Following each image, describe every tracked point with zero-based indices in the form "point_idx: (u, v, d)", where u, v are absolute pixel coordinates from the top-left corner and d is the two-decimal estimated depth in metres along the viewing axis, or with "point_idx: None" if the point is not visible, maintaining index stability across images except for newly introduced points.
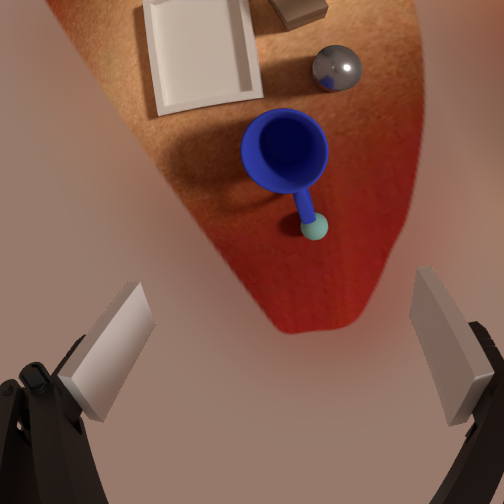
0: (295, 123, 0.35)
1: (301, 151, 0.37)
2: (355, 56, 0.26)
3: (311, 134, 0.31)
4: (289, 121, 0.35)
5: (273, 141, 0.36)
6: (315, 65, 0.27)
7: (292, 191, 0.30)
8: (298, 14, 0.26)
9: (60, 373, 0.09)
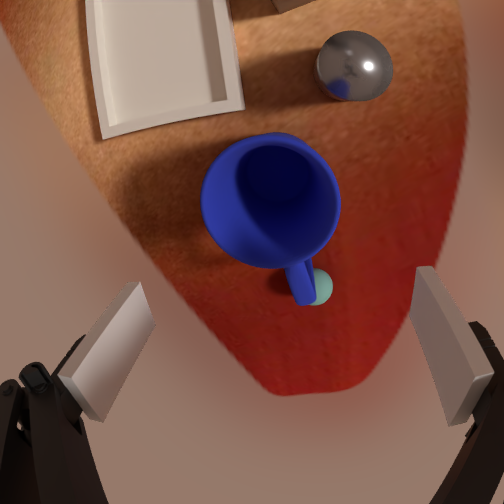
0: None
1: (298, 186, 0.26)
2: (382, 49, 0.16)
3: (313, 169, 0.21)
4: None
5: (258, 172, 0.26)
6: (321, 61, 0.17)
7: (282, 266, 0.20)
8: None
9: (60, 373, 0.09)
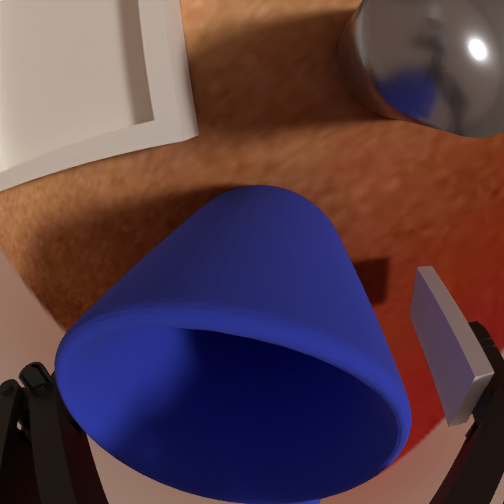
0: None
1: None
2: None
3: None
4: None
5: None
6: (375, 18, 0.05)
7: (257, 503, 0.07)
8: None
9: None
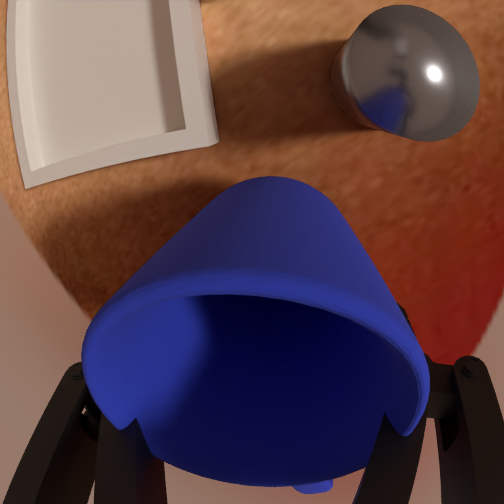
0: None
1: None
2: (463, 45, 0.07)
3: None
4: None
5: None
6: (353, 59, 0.08)
7: (276, 486, 0.08)
8: None
9: None
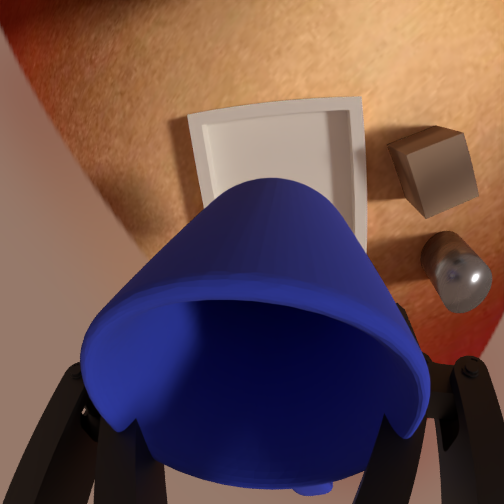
0: None
1: None
2: (489, 274, 0.20)
3: None
4: None
5: None
6: (445, 287, 0.21)
7: (275, 488, 0.08)
8: (442, 207, 0.20)
9: None
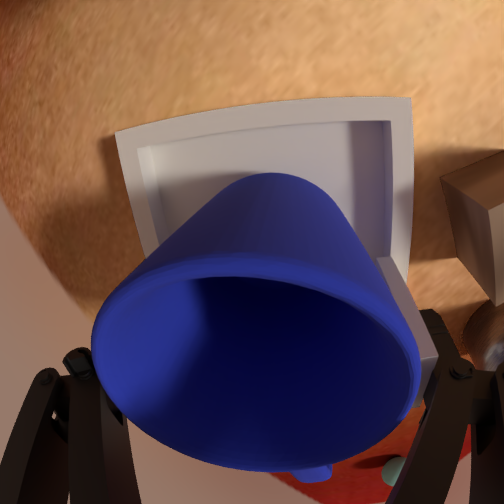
0: None
1: None
2: None
3: None
4: None
5: None
6: None
7: (275, 471, 0.08)
8: None
9: None
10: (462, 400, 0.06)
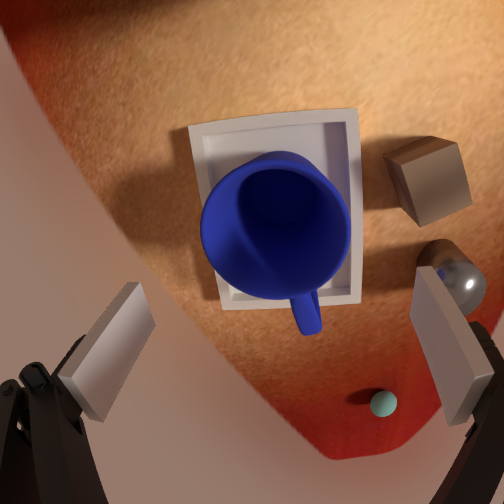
0: None
1: (303, 207, 0.25)
2: (483, 280, 0.21)
3: (320, 193, 0.20)
4: None
5: (261, 192, 0.25)
6: None
7: (287, 297, 0.18)
8: (436, 215, 0.21)
9: (60, 373, 0.09)
10: None
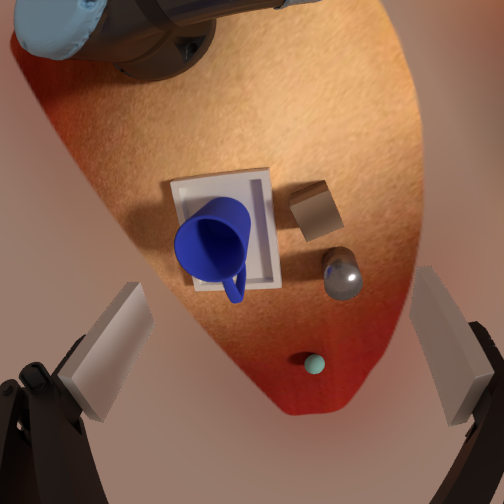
0: None
1: None
2: (358, 275, 0.39)
3: None
4: None
5: (214, 220, 0.43)
6: (325, 283, 0.40)
7: (218, 281, 0.36)
8: (317, 234, 0.38)
9: (60, 373, 0.09)
10: None
